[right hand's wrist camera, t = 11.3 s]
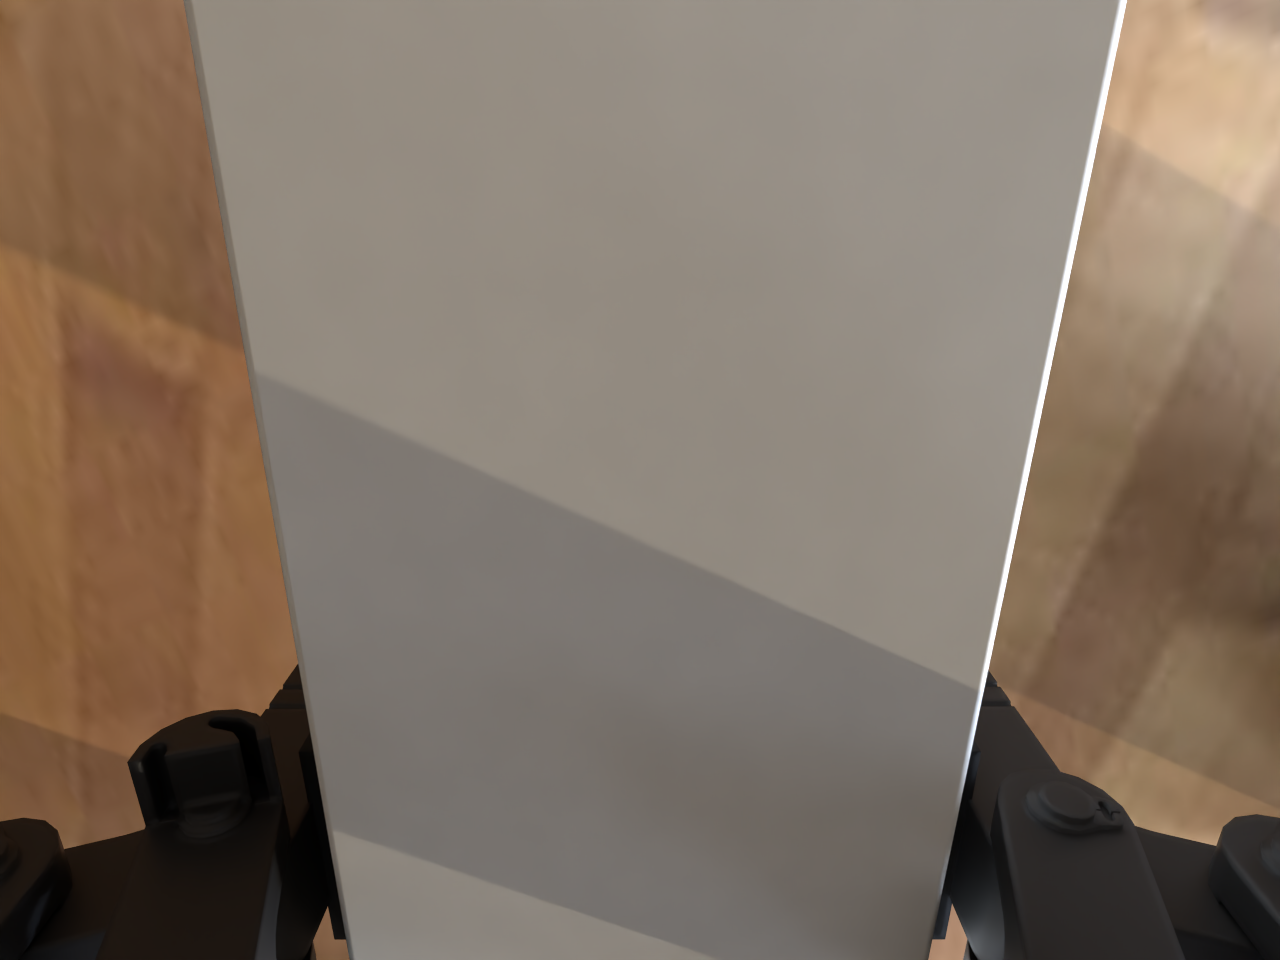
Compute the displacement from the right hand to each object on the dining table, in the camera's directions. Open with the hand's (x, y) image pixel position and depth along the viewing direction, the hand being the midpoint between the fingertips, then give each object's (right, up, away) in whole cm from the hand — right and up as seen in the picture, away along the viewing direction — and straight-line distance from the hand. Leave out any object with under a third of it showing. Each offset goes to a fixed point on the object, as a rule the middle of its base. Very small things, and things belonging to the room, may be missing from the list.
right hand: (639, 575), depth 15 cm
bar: (0, +20, -7) cm, 21 cm away
